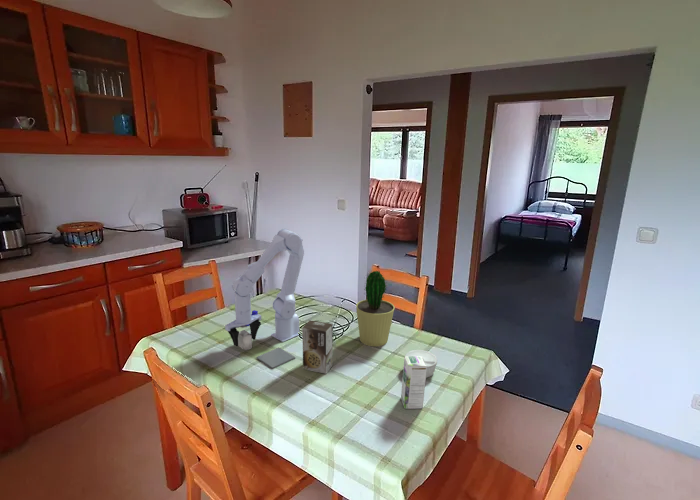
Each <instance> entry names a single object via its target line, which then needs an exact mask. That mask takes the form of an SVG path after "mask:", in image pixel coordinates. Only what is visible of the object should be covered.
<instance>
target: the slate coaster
mask: <svg viewBox="0 0 700 500" xmlns="http://www.w3.org/2000/svg"><path fill="white" fill-rule="evenodd" d="M256 359H257V360H258V361H260V362H262V363H263V364H264V365H266V366H268V367H269V368H271V369H272V370H274V369H276V368H278V367H281V366H282V365H284V364H287V363H289V362H291V361H293V360H295V359H296V356H294V355H293V354H290V353H289V352H288V351H286V350H284V349H282V348H281V347H277V348H274V349H272V350H270V351H267V352H265V353H263V354H260V355H258V356H256Z"/></svg>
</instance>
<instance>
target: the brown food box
mask: <svg viewBox="0 0 700 500" xmlns="http://www.w3.org/2000/svg"><path fill="white" fill-rule="evenodd" d="M333 325H334V324H333V323H329V322H324V321H323V322H322V321H318V320H317V321H316V320H309V321H307V322H306V323H305V324H304V325H303V326H302V327H301V330H302V331H301V333H302V337H301V338H302V369H303V370H306V371H311V372H316V373H320V374H324V375H326V374H327V373H329V371H330V369H331V368H332V367H333V338H334V337H333V332H334V331H333V329H334V328H333V327H334V326H333Z"/></svg>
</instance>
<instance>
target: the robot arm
mask: <svg viewBox="0 0 700 500" xmlns="http://www.w3.org/2000/svg"><path fill="white" fill-rule="evenodd" d="M284 251H287V253H289V256H288V260H287V264H286V268H285V273H284V277H283V281H282V285H281V289H280V292H277V294H276V297H275V298H274V300H273V301H272V308H273V310H274V311H275V314H274V326H275V329H274V330H275V331H274V333H271V334H270V336H271V337H273V338H274V339H277V340H278V341H280V342H286V341H288V340H290V339H293V338H296V337H298V336H300V335H299V334H298V332H299V333H300V318H299V315H298V314H297V313H296V310H297V309H296V298H295V293H296V292H295V291H296V287H297V284H298V280H299V276H300V271H301V266H302V264H303V260H304V255H305V249H304V245H303V238H302V237H301V236H300V235H299V234H298V233H297V232H294V231H292V230H289V229H287V228H282V229H280V230H278V232H277V234H275V235H274V236H273V238H272V240H271V242H270V243H269V245H268V246H267V247H266V248H265V250H264V252H263V253H262V254H261V256H260V257H259V258H258V260H257V261H254V262H251V263H249V264H248V265H246V267H247V268H246V269H245V271H244V272H243V273H242V274H240V275H239V276H238V278H236V279H235V280H234V281H233V282H232V285H231V288H232V290H233V291H234V308H235V319H234V320H233V321H231V322H229V323H227V324H225V326H224V329H225V331H227V333H228V334H229V336H230V338H231V340H232V343H233V346H235V347H239V346H238V335H239V330H238V329H237V328H239V327H240V328H241V327H242V326H243V327H244V326H245V325H248V324H249V328H250V329H249V330H250V334H251V335H252V341H254V340H256V339H257V334H258V331H259V328H260V327H261V324H262V315H261V314H259V313H258V314H257V315H252V316H251V314H252V304H251V301H252V300H251V294H252V293H253V289H254V288H253V286H254V285H255V284H256V283H257V282H258V281H259V280H260V278H261V276H262V275H263V274H264V273H265V267H266V266H267V265H268V264H269V262H271V261H272V260H273V258H274V257H275V256H276V255H277V254H278V253H279V252H284Z"/></svg>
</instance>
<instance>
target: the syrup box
mask: <svg viewBox="0 0 700 500" xmlns="http://www.w3.org/2000/svg"><path fill="white" fill-rule="evenodd" d="M402 368H403V369H402V380H401V381H402V382H401V393H400V397H401V402H402V405H403V408H404V409H405V410H410V409H411V410H412V409H413V410H414V409H415V410H416V409H423V408H424V400H425V399H424V398H425V387H426V379H427V378H426V370H427V366H426V364H425V361H424V359H423V358H422V356H404V358H403V367H402Z"/></svg>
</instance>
